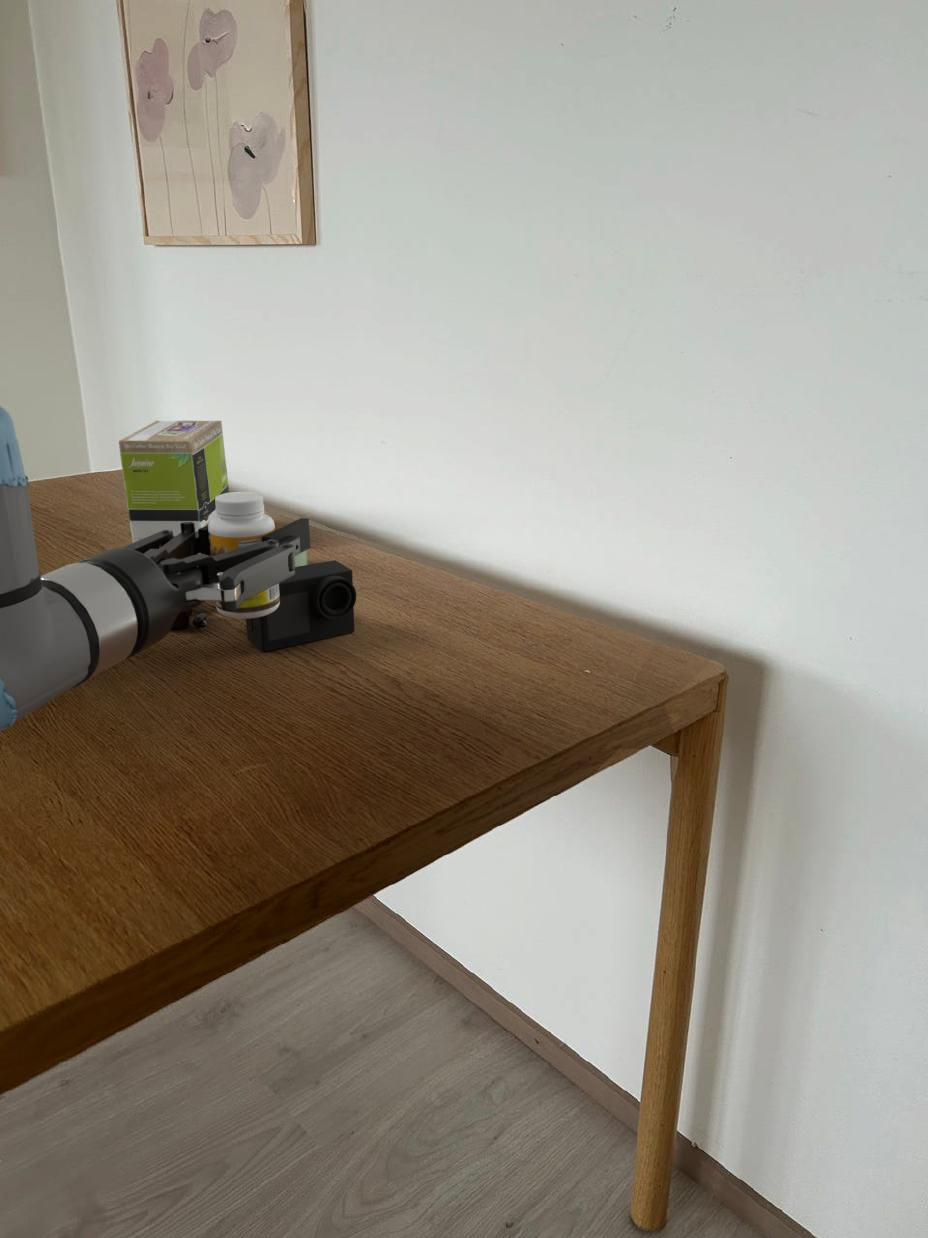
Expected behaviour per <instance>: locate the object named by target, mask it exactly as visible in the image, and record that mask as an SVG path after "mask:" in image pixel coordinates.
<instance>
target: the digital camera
mask: <svg viewBox="0 0 928 1238" xmlns="http://www.w3.org/2000/svg"><path fill="white" fill-rule="evenodd" d="M353 581H354V580H353V570H352V569H351V568H349V567H348V566H346V565H344V564H343V563H340V562H339V561H337V560H335V559H334V560H328V561H322V562H316V563H310V564H308V565H304V566H298V567H295V575H294V576H292V577H290V578H288V579H286V580H284V581H282V582H280V583H279V595H280V604H279V606H278V608H277V609H276V610H275V611H274V612H272V613H270V614H268V615H265V616H262V617H257V618H250V619H245V626H246V627H245V628H246V638H247V640H248V641H249V642H250V643H252V645H254V646H255V647H256V648H258V649H259V650H260V651H261V652H263V653H265V652H270V651H275V650H276V651H277V650H280V649H284V648H289V647H293V646H298V645H301V644H302V645H303V644H307V643H311V642H315V641H319V640H324V639H329V638H334V637H336V636H341V635H347V634H350V633H354V632H355V609H354V607H355V605H356V602H357V591H356V587H355V586H354V583H353Z"/></svg>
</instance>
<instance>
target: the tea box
mask: <svg viewBox="0 0 928 1238" xmlns="http://www.w3.org/2000/svg"><path fill="white" fill-rule="evenodd" d="M118 447H119V457H120V463H121V468H122V477H123V485H124V491H125V496H126V497H125V498H126V505H127V513H128V518H129V526H130V527H129V528H130V534H131V540H132V543H134V542H137V541H139V540H141V539H144V538H146V537H148V536H151V535H153V534H155V533H158V532H160V531H163V530H169V531H173V536H177V535H178V534H179V533H181V526H180V523H183V522H194V524H195V532H197V531H198V529H200V528H202V527H205V526H207V525H209V522H210V521H211V520H212V519H213V518H215V517H217V515H216V511H215V509H216V504H215V498H216V497H217V496H218V495H221V494H224V493H230V487H229V477H228V468H227V461H226V452H225V451H226V450H225V443H224V433H223V423H222V420H155V421H153V422H151V423H149V424H147V425H146V426H144V427H142V428H140V429H138V430H136V431H134V432H132V433H131V434H129V435H127V436H126V437H124V438H122V439H120V440H118Z"/></svg>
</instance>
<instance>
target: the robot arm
mask: <svg viewBox="0 0 928 1238" xmlns="http://www.w3.org/2000/svg"><path fill="white" fill-rule="evenodd" d="M29 486H30V482H29V477H28V476H27V475H26V474H25V469H24V464H23V459H22V454H21V450H20V445H19V441H18V438H17V433H16V429H15V424H14V420H13V418H12V416H11V414H10V413H9V411H7V410H6V409H5V408H4V407H2V406H1V405H0V731H5V730H8V728H10V727H12V726H14V724H15V723H17V721H19V720H20V719H22V718H24V717H26V716H27V715H28V714H30V713H32V712H33V711H35V710H37V709H38V708H40V707H42V706H44V705H46V704H47V703H49V702H51V701H53V700H54V699H56V698H58V697H59V696H61V695H63V694H65V693H66V692H68V691H71V690H73V689H75V688H81V687H82V686H84V685H85V684H86V682H87V681H89V680H90V679H93V678H94V677H96V676H98V675H99V674H102V673H103V672H105V671H107V670H109V669H110V668H113V667H114V666H116V665H118V664H120V663H122V662H123V661H125V660H127V659H130V658H132V657H135V656H136V655H138V654H139V653H141V652H143V651H145V650H147V649H148V648H150V647H152V646H154V645H156V644H158V643H159V642H161V641H162V640H163V639H164V638H165V637H166V636H167V635H168V634H169V632H170V631H171V630H172V629H171V627H172V625H173V623H174V621H175V619H176V617H177V616H178V614H179V613H181V612H184V611H187V610H189V609H193V610H194V609H197V608H199V607H200V606H202V604H203V603H204V602H206V601H208V602H215V601H219V604H220V605H221V606H222V610H223V611H226V612H231V611H235V610H237V609H238V608H239V607H240V606H241V605H242V604H243V602H244V601H246V600H248V599H250V598H252V597H253V596H255V595H257V594H259V593H261V592H263V591H265V590H267V589H269V588H271V587H273V586H275V585H277V584H278V583H280V582H282V581H284V580H286V579H288V578H290V577H292V576H294V575H295V559H294V556H296V555H298V554H300V553H302V552H304V551H306V550H307V551H308V550H309V549H311V536H310V534H311V533H310V519H309V518H306V517H300V518H297V519H296V520H294V521H291V522H289V523H288V524H285V525H283V526H281V527H279V528H277V529H275V531H273V532H271V533H268V534H266V535H264V536H262V542H260V543H257V544H253V545H250V546H247V547H243V548H240V549H236V550H233V551H229V552H226V553H222V554H219V555H216V556H211V553H210V543H209V533H208V525H207V526H205V527H202V528H200V529H198V531H197V532H195V524H194V522H183V523H180V526H181V533H179V534H178V535H177V536H173V531H169V530H163V531H160V532H158V533H155V534H153V535H151V536H148V537H146V538H144V539H141V540H139V541H137V542H134V543H133V542H132V543H130V544H127V545H125V546H123V547H115V548H114V547H113V548H110V549H107V550H104V551H101V552H99V553H97V554H94V555H91V556H89V557H86V558H84V559H81V560H79V561H76V562H74V563H69V564H66V565H63V566H62V567H58V568H57V569H54V570H52V571H49V572H47V573H45V574H44V573H43V574H42V575H41V572H40V569H39V560H38V554H37V547H36V539H35V533H34V525H33V519H32V510H31V504H30V498H29V490H28V487H29Z"/></svg>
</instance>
